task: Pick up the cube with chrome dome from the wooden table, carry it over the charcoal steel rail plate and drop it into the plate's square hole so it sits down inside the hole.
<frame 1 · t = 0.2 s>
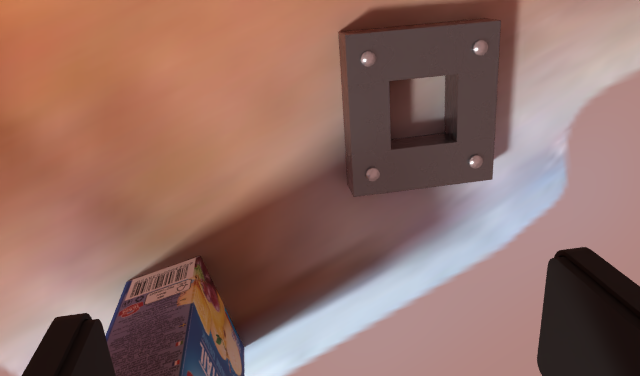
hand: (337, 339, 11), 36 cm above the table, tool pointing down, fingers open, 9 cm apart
rail plate: (413, 105, 47), on the table
juice carton: (188, 314, 52), on the table
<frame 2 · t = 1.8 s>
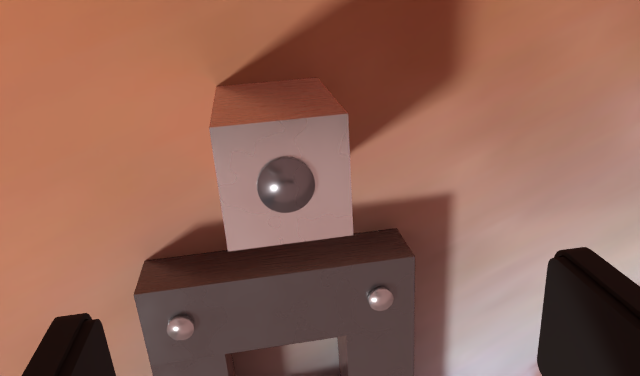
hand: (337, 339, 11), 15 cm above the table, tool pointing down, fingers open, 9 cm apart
rail plate: (286, 352, 29), on the table
cube with chrome dome: (272, 130, 24), on the table
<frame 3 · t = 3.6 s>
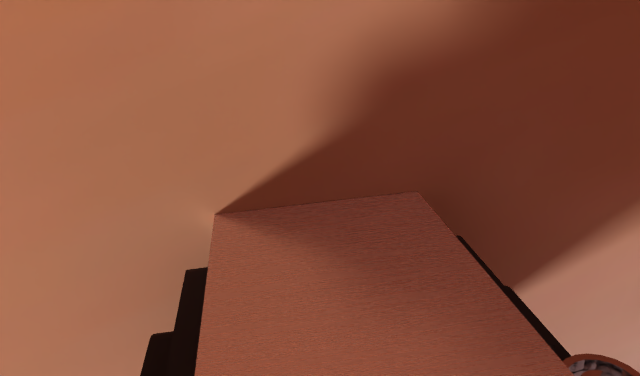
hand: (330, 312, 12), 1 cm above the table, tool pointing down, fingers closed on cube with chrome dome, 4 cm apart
cube with chrome dome: (324, 289, 12), on the table, touching gripper
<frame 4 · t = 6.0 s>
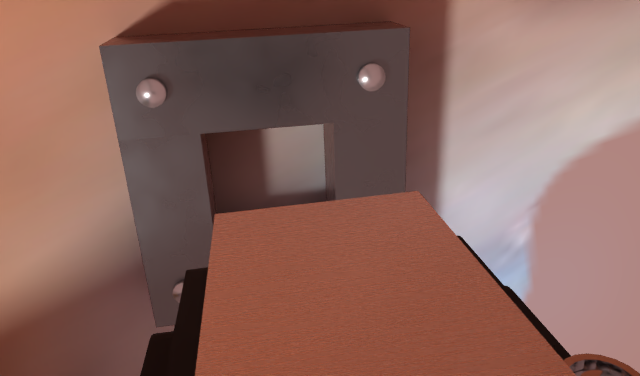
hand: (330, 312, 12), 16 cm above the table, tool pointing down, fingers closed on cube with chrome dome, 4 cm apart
rail plate: (268, 167, 27), on the table
cube with chrome dome: (324, 289, 12), point 15 cm above the table, touching gripper
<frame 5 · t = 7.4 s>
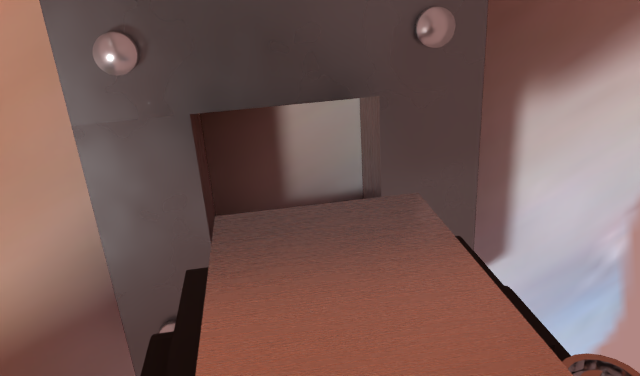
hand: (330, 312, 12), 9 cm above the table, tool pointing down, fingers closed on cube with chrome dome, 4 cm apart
rail plate: (286, 163, 20), on the table
cube with chrome dome: (324, 291, 12), point 9 cm above the table, touching gripper
when the fingers open (5 cm above the table, at t = 8.5 s): cube with chrome dome drops 4 cm, resting in rail plate.
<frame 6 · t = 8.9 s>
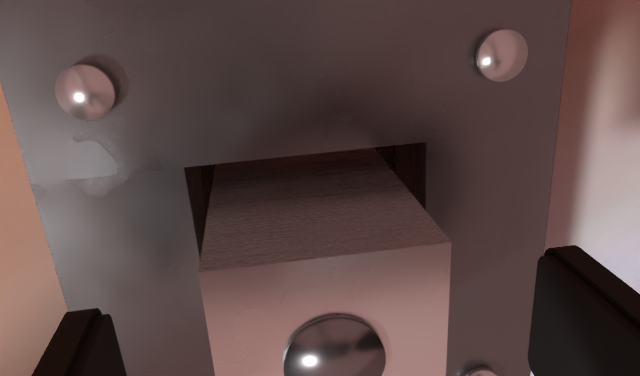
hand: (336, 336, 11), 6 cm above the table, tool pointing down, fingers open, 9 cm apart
rail plate: (304, 215, 16), on the table
cube with chrome dome: (298, 214, 17), resting in rail plate
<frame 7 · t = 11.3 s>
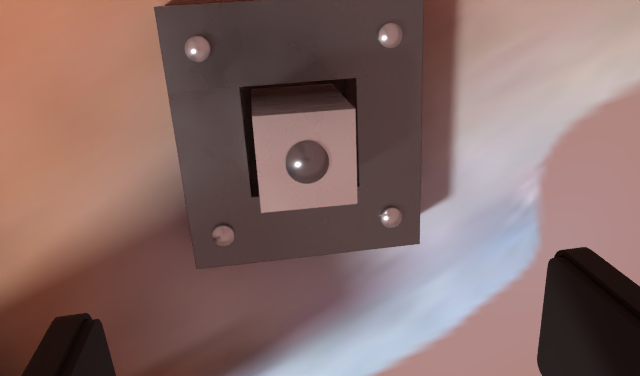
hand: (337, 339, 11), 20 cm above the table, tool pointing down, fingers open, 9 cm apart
rail plate: (297, 125, 30), on the table
cube with chrome dome: (294, 125, 30), resting in rail plate
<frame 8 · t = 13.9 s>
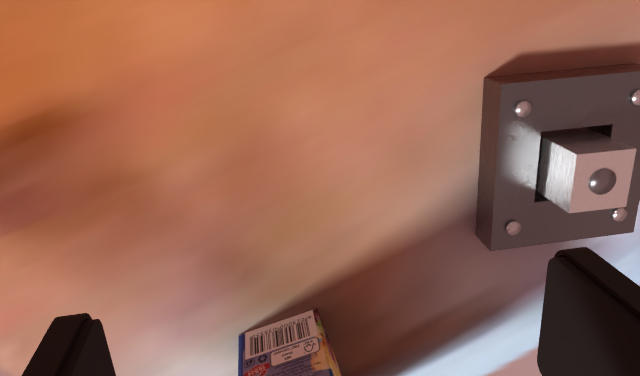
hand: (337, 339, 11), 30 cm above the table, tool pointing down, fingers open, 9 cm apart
rail plate: (552, 152, 44), on the table
juice carton: (297, 368, 49), on the table
cube with chrome dome: (549, 152, 44), resting in rail plate
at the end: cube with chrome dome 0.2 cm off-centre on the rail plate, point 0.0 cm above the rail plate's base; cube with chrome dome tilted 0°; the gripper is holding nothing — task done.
